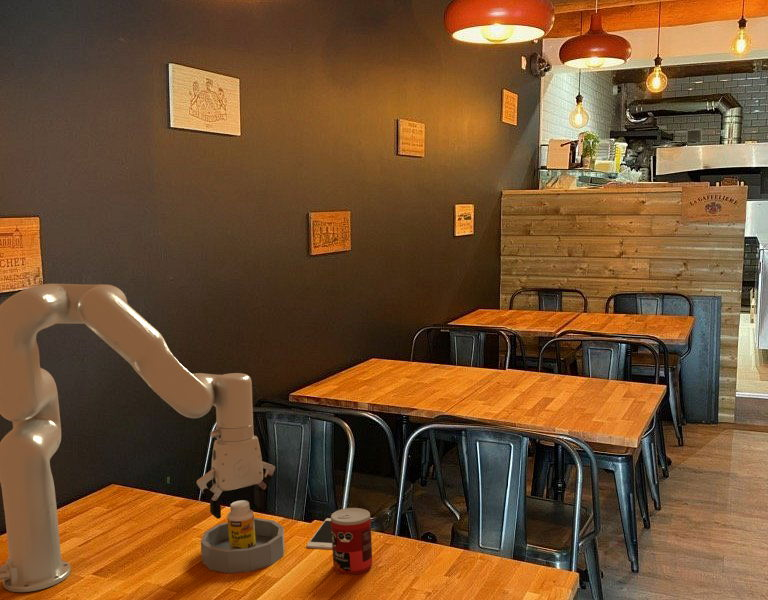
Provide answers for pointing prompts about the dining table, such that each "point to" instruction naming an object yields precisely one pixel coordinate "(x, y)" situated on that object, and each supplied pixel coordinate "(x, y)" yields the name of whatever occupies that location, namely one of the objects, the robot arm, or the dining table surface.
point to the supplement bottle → (241, 526)
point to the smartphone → (322, 536)
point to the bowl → (246, 559)
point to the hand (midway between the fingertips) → (238, 511)
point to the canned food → (351, 541)
